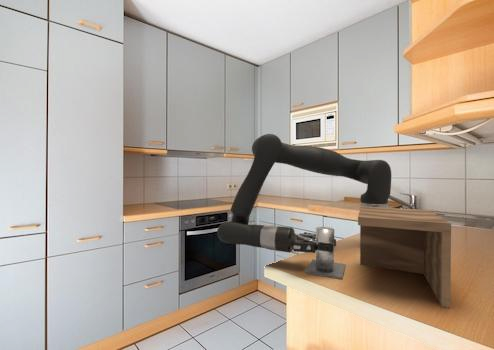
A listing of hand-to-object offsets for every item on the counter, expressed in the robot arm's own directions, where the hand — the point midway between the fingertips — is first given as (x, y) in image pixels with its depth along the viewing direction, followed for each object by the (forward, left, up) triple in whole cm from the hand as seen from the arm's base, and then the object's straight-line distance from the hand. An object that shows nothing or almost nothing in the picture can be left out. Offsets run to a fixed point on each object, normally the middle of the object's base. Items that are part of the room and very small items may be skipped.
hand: (334, 245), depth 73 cm
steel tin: (0, -3, -6) cm, 7 cm away
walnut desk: (-2, +15, -8) cm, 17 cm away
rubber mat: (-2, -3, -8) cm, 9 cm away
